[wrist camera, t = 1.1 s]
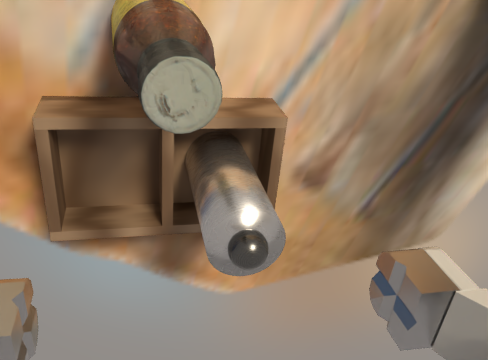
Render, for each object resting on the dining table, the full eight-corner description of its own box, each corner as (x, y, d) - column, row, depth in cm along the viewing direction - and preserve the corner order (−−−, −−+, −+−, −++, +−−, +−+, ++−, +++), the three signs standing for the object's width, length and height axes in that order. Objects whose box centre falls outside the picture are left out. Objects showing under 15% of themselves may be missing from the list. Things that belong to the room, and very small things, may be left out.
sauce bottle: (109, 48, 39) (95, 149, 22) (115, -30, 36) (105, 18, 19) (184, 60, 41) (225, 161, 24) (196, -13, 38) (251, 44, 21)
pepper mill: (247, 130, 45) (299, 224, 31) (241, 183, 47) (287, 290, 34) (185, 131, 43) (212, 229, 30) (184, 185, 46) (208, 297, 33)
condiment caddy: (272, 98, 45) (287, 117, 40) (259, 201, 50) (271, 228, 46) (42, 96, 40) (32, 117, 35) (57, 211, 45) (50, 241, 41)
